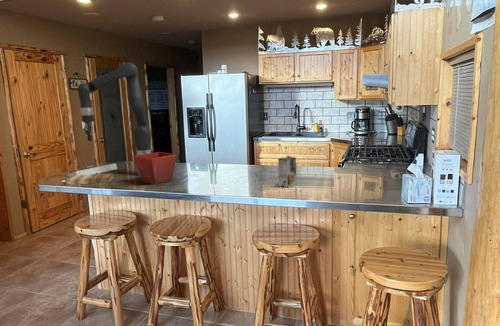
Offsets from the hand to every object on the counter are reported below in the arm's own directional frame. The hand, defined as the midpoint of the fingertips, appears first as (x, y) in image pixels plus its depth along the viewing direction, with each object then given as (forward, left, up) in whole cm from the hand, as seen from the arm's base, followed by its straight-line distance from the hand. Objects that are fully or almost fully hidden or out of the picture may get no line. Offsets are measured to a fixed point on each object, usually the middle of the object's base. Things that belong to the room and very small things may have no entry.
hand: (90, 140), depth 242 cm
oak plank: (+4, +13, -25) cm, 28 cm away
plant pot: (-44, +25, -25) cm, 56 cm away
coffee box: (-120, +57, -25) cm, 135 cm away
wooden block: (-8, +13, -25) cm, 29 cm away
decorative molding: (+5, -19, -26) cm, 32 cm away
